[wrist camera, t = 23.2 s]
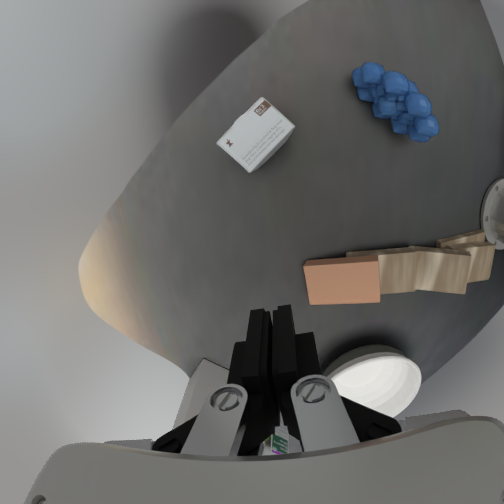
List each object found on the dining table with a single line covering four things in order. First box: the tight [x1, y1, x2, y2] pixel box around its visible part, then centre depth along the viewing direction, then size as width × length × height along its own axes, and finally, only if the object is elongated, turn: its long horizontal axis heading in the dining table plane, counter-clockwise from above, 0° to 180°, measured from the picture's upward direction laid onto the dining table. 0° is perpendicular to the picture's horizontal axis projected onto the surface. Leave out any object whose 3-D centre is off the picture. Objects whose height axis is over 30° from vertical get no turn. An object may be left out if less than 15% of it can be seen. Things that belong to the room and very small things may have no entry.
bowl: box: [322, 344, 421, 418], centre depth 41 cm, size 19×19×8 cm
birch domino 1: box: [346, 247, 417, 294], centre depth 37 cm, size 2×6×10 cm
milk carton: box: [172, 359, 229, 430], centre depth 39 cm, size 7×7×19 cm
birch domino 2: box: [436, 230, 485, 249], centre depth 36 cm, size 2×6×10 cm
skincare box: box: [217, 97, 295, 173], centre depth 28 cm, size 6×4×12 cm
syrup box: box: [262, 411, 288, 455], centre depth 44 cm, size 6×6×14 cm
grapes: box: [352, 62, 439, 142], centre depth 25 cm, size 12×7×12 cm, turn 46°
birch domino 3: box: [446, 241, 495, 283], centre depth 35 cm, size 2×6×10 cm
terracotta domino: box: [303, 255, 380, 305], centre depth 37 cm, size 2×6×10 cm
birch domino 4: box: [409, 246, 471, 294], centre depth 35 cm, size 2×6×10 cm
